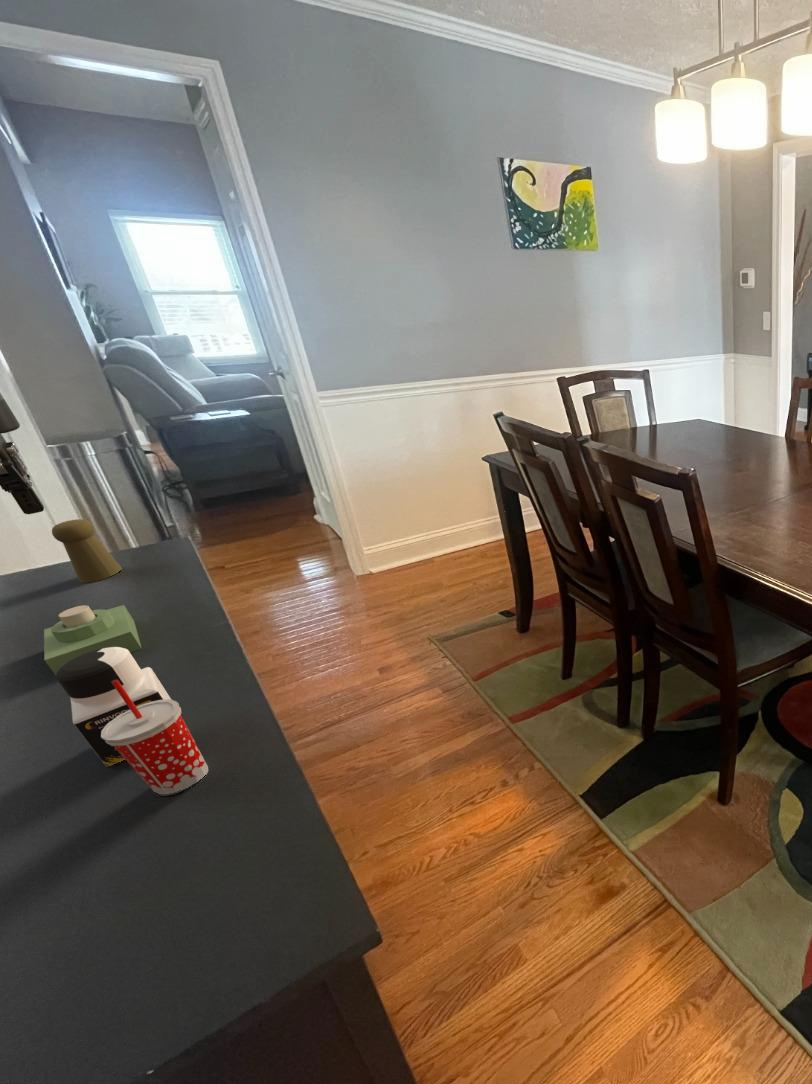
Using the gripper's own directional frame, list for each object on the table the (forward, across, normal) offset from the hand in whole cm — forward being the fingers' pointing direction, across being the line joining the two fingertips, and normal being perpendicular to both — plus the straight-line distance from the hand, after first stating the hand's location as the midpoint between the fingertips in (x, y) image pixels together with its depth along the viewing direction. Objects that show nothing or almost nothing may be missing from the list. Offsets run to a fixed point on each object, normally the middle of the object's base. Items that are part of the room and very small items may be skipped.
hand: (35, 511), depth 94 cm
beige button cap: (+13, +18, 0) cm, 22 cm away
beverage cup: (+18, +63, +6) cm, 65 cm away
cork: (+18, -16, +1) cm, 24 cm away
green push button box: (+18, +18, 0) cm, 25 cm away
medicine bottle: (+18, +50, +3) cm, 53 cm away
